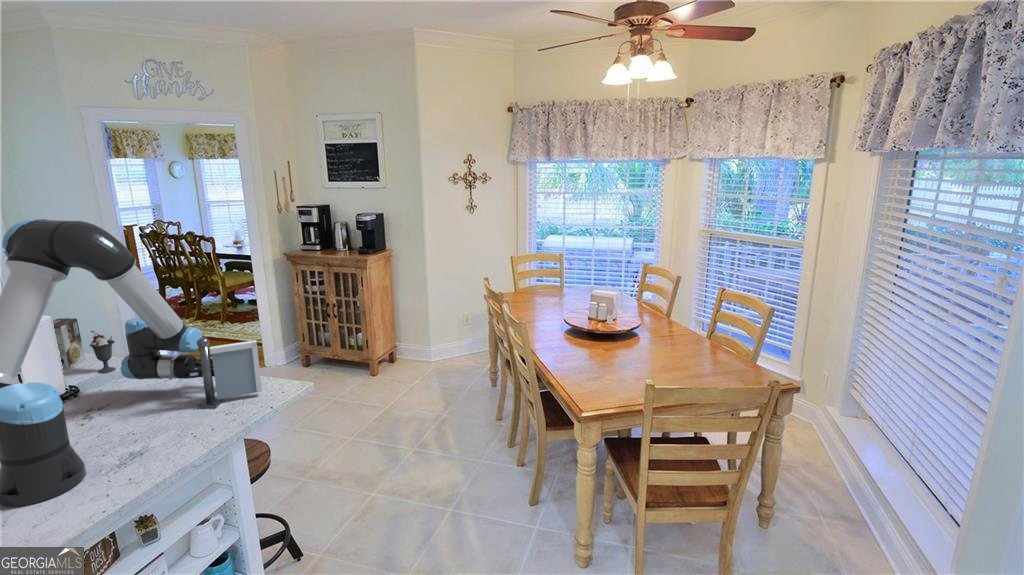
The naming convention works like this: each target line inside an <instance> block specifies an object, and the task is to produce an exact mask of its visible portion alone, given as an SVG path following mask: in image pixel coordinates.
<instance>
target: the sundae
mask: <svg viewBox="0 0 1024 575" xmlns="http://www.w3.org/2000/svg"><path fill="white" fill-rule="evenodd" d="M90 333H93V334H94V336H92V340H91V343H90V344H89V347H91V348H92V350H93V351H94V352H93V353H94V355H95V357H96V359H97V361H100V362H102V364H103V366H102V368H101V369H99V370H97V373H98V374H108V373H112V372H114V371H116V367H113V366H109V362H108V361H109V360H111V358H112V356H113V355H112V354H113V344H115V342H116V341H114V340H113V339H112V337H113V336H112V335H111V336H110V337H109V338H108V336H106V335H103V334H102V335H101V334H99V333H97V332H95V331H94V330H91V331H90ZM96 334H97V335H96Z"/></svg>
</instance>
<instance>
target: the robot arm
mask: <svg viewBox="0 0 1024 575" xmlns="http://www.w3.org/2000/svg"><path fill="white" fill-rule="evenodd" d="M1 245H2V246H1V247H2V248H3V249H4V251H3V253H4V255H5V257H7V259H6V262H5V266H6V267H7V268H8V269H9V271H10V273H9V275H8V277H7V279H6V282H5V283H4V286H3V288H2V290H1V293H0V505H3V506H5V507H21V506H22V507H24V506H28V505H33V504H37V503H40V502H44V501H48V500H50V499H54V498H56V497H58V496H60V495H63V494H64V493H67V492H68V491H69V490H71V489H74V487H76V486H77V485H79V484H80V483H81V482H82V481H83V480H84V479H85V478H86V475H87V469H86V465H85V462H84V460H83V459H81V457H80V456H79V454H78V453H77V452H76V451H75V449H74V448H73V447H72V445H71V442H70V437H69V432H68V427H67V421H66V417H65V416H66V415H65V411H64V405H63V400H62V399H61V395H60V394H59V391H58V389H56V387H54V386H53V385H51V384H49V383H48V384H47V383H44V382H26V383H22V382H20V381H19V379H18V375H19V374H20V373H19V372H20V371H21V368H22V366H23V363H24V361H25V358H26V356H27V355H28V354H27V353H28V351H29V349H30V346H31V344H32V342H33V339H34V337H35V335H36V332H37V329H38V328H39V326H40V323H41V321H42V318H43V316H44V313H45V310H46V309H47V306H48V304H49V300H50V298H51V296H52V294H53V291H54V289H55V287H56V285H57V283H59V282H62V281H65V280H67V278H68V275H69V273H70V270H71V268H77V269H82V270H86V271H87V272H89V273H91V274H92V275H93V276H94V277H95V278H96V279H97V280H98V281H103V282H106V283H107V284H108V285H109V286H110V288H111V289H113V290H114V291H115V293H116V294H117V295H118V296H119V297H120V298H121V299H122V301H123V302H125V304H126V305H128V307H129V308H130V309H131V310H132V311H133V312H134V313H135V314H136V315H137V316H138V317H133V318H130V319H127V320H126V321H125V323H124V327H125V328H124V329H125V334H124V335H125V338H126V343H127V349H128V355H126V356H124V357H123V359H122V360H121V362H120V364H121V366H120V372H121V375H122V376H123V377H124V378H125V379H130V380H131V379H132V380H157V379H159V380H161V379H162V380H163V379H167V380H170V381H172V380H173V379H175V380H176V379H179V380H181V379H182V380H183V379H185V380H186V379H187V380H188V379H189V380H190V379H196V378H197V379H198V378H203V374H202V366H201V359H200V358H198V359H197V358H196V356H195V355H193V354H160V353H159V351H165V352H166V351H167V352H179V353H192V352H193V353H194V352H196V351H197V350H199V347H198V346H197V340H198V339H199V338H202V337H203V332H202V331H201V330H200V329H199V328H197V327H193V326H187V324H185V323H184V322H183V320H182V319H181V318H180V317H179V315H178V314H177V313H176V312H175V311H174V309H173V308H172V306H170V305H169V303H168V302H167V301H166V300H165V299H164V297H162V295H161V294H160V293H159V292H158V291H157V289H156V288H155V287H154V286H153V284H152V283H151V282H150V281H149V280H148V278H147V277H146V276H145V275H144V273H142V271H141V270H140V269H139V267H137V265H136V262H137V260H136V258H135V256H134V254H132V252H131V251H129V249H128V248H127V247H126V246H125V245H124V244H123V243H122V242H121V241H120V240H118V238H116V237H115V236H114V235H112V234H111V233H109V232H108V231H107V230H105V229H104V228H101V227H100V226H98V225H96V224H95V223H91V222H87V221H84V220H83V221H82V220H59V219H58V220H57V219H56V220H55V219H46V218H35V219H26V220H23V221H19V222H17V223H15V224H13V225H12V226H10V227H9V229H8V230H7V231H5V234H4V236H3V238H2V244H1ZM210 363H211V370H212V378H213V377H214V378H215V376H214V368H213V360H212V354H210Z"/></svg>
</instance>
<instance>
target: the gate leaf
mask: <svg viewBox="0 0 1024 575" xmlns="http://www.w3.org/2000/svg"><path fill="white" fill-rule="evenodd" d="M209 355H212V360H213V368H214V376H215V377H214V381H215V390H216V398H217V399H223V400H224V399H228V398H233V397H238V396H244V395H249V394H253V393H254V394H255V393H261V392H263V388H262V381H261V369H260V360H259V352H258V343H257V340H255V339H254V340H248V341H241V342H234V343H229V344H228V343H227V344H221V345H214V346H210V347H209Z"/></svg>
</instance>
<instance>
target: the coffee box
mask: <svg viewBox="0 0 1024 575" xmlns="http://www.w3.org/2000/svg"><path fill="white" fill-rule="evenodd" d="M52 321H53V324H54V329H55V334H56V339H57V344H58V349H59V351H60V358H61V362H62V366H63V369H65V370H64V371H66V370H67V371H68V370H71V369H73V368H74V367H76V366H78V365H79V364H81V363H82V362H84V361H86V356H85V352H84V347H83V341H82V338H81V337H82V336H81V333H80V332H81V331H80V327H79V322H78V319H77V317H75V318H70V317H69V318H68V317H66V318H65V317H64V318H55V319H53V320H52Z"/></svg>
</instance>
